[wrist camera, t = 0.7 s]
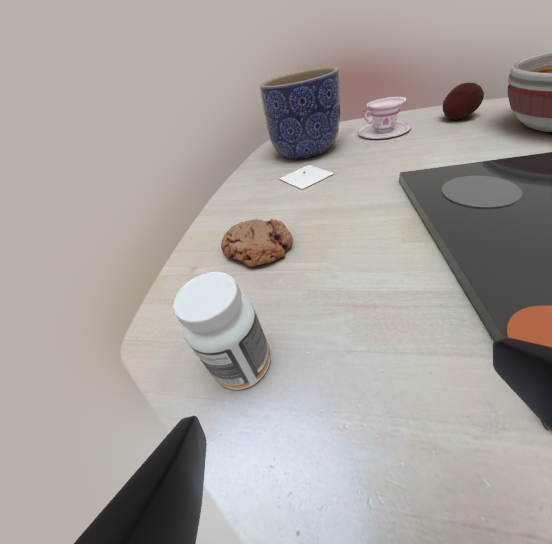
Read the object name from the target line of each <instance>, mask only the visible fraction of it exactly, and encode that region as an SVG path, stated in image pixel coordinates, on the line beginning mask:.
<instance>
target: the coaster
mask: <svg viewBox="0 0 552 544" xmlns="http://www.w3.org/2000/svg"><path fill="white" fill-rule="evenodd" d="M332 174H334V173H331V172H328V171H325V170H322V169H319V168H316V167H314V166H311V165H307V166H305V167H303V168H301V169H298V170H296V171H294V172H292V173H290V174H288V175H285V176H283V177H281V178H279V179H281V180H283V181H285V182H287V183H289V184H292V185H294V186H296V187H298V188H300V189H304V188H306V187H308V186H310V185H312V184H314V183H316V182H318V181H320V180H322V179H324V178H326V177H328V176H330V175H332Z"/></svg>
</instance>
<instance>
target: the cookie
mask: <svg viewBox="0 0 552 544" xmlns="http://www.w3.org/2000/svg"><path fill="white" fill-rule="evenodd" d="M292 240H293V239H292V235H291V233H290V232H289V231H288V229H287V228H286V227H285V225H284V224H283V223H282V222H281V221H278V220H273V219H271V220H270V221H267V222H265V221H263V220H250V221H245V222H241V223H239V224H237V225H234V226H233V227H232V228H231V229H230V230H229V231H227V233H226V234H225V235H224V237H223V239H222V243H221V248H222V251H223V252H224V254H225V255H226V257H228V258H230V257H233V260H239V261H242V262H243V263H244V264H245V265H247V266H250V267H253V266H256V265H261V264H265V263H269V262H273V261H275V260H276V259H280V258H281V257H284V256H285V252H286V251H287V250H288V249H289V248H290V247H291V244H292Z"/></svg>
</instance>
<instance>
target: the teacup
mask: <svg viewBox="0 0 552 544" xmlns="http://www.w3.org/2000/svg"><path fill="white" fill-rule="evenodd" d="M405 101H406V98H404V97H389V98H383V99H378V100H375V101H372V102H369V103H368V104H367V106H368V108H369V110H366V109H365V110H364V112H365V113H364V117H365V120H366V121H367V122H368V123H369V124H368V125H366V126H364V127H362V128H360V129H359V131H358V135H359V136H361V137H364V138H369V139H383V138H390V137H395V136H399V135H402V134H404V133H407V132H408V131H409V130H410V128H411V125H410V124H409V123H406V122H402V121H396V118H397V114H398V112H399V111H400V107H401V106H402V105H403V104H404V102H405ZM367 112H370V113H371V114H372V116H373V120H372V123H370V122H369V120H368V119H367V117H366V113H367Z"/></svg>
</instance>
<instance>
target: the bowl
mask: <svg viewBox="0 0 552 544" xmlns="http://www.w3.org/2000/svg"><path fill="white" fill-rule="evenodd" d="M508 82H509V86H508V97H509V102H510V106H511V109H512V111H513V112H514V114H515V116H516V118H518V119H519V120H520V121H521V122H522V123H524V124H525V125H526V126H527V127H530V128H532V129H535V130H540V131H545V132H552V52H549V53H545V54H541V55H537V56H533V57H530V58H527V59H524V60H521V61H519V62H518V63H516V64H514V66H513V67H512V68H511V71H510V75H509V79H508Z"/></svg>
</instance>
